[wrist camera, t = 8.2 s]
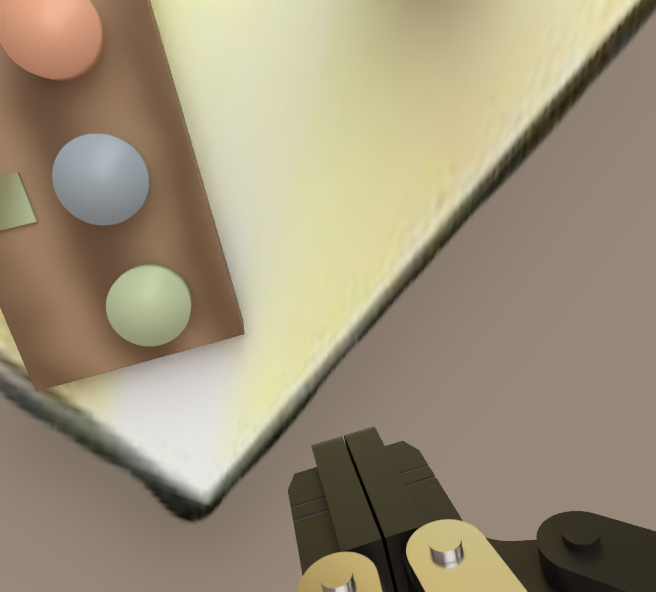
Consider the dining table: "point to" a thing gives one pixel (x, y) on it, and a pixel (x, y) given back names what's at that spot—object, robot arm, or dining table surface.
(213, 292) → the console
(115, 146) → the button slate
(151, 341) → the button sage
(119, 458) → the dining table surface
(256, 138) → the dining table surface
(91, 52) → the button terracotta
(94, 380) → the dining table surface
